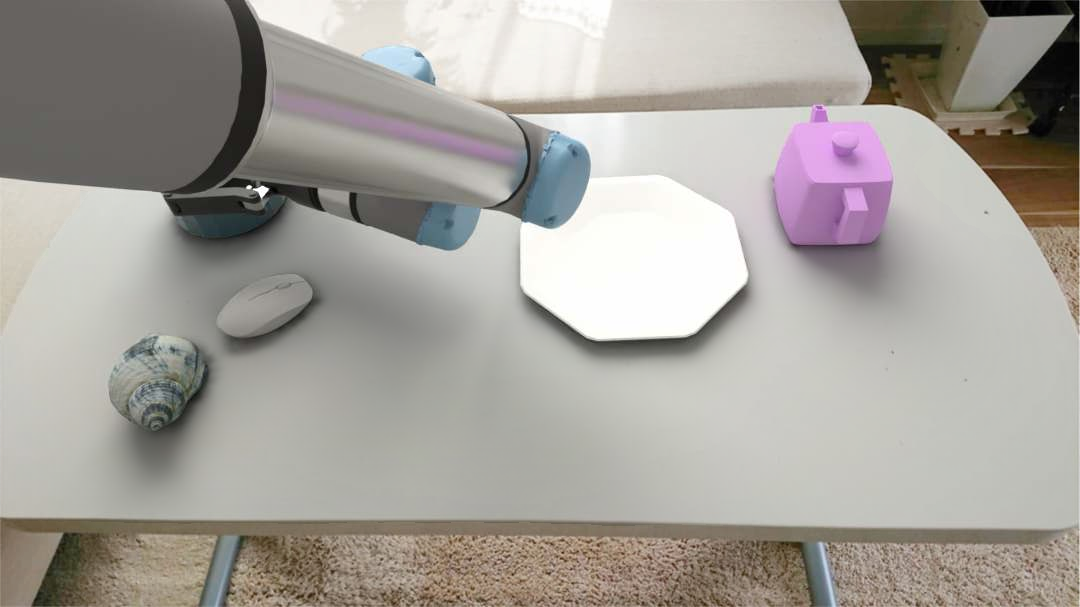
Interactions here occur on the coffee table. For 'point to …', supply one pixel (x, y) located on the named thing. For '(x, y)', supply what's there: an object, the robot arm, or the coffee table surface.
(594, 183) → the plate
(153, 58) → the robot arm
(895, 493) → the coffee table surface
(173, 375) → the seashell
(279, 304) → the computer mouse
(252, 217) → the bowl
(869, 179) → the teapot
